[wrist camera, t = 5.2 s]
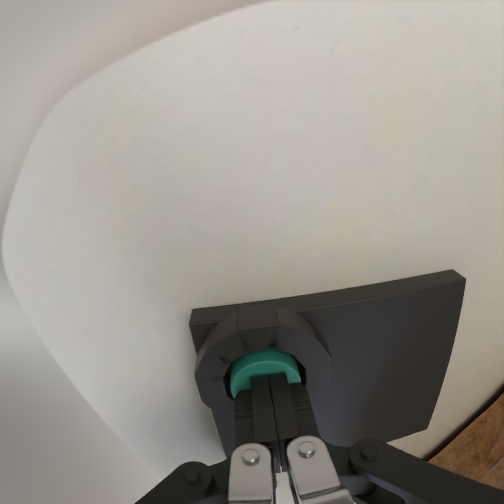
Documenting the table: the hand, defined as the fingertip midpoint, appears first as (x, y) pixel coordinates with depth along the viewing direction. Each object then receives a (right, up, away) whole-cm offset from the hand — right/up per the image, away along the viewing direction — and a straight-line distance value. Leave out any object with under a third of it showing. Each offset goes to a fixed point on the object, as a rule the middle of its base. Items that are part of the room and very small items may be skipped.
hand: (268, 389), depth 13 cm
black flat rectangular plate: (+4, -2, +4) cm, 6 cm away
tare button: (0, +1, +2) cm, 2 cm away
